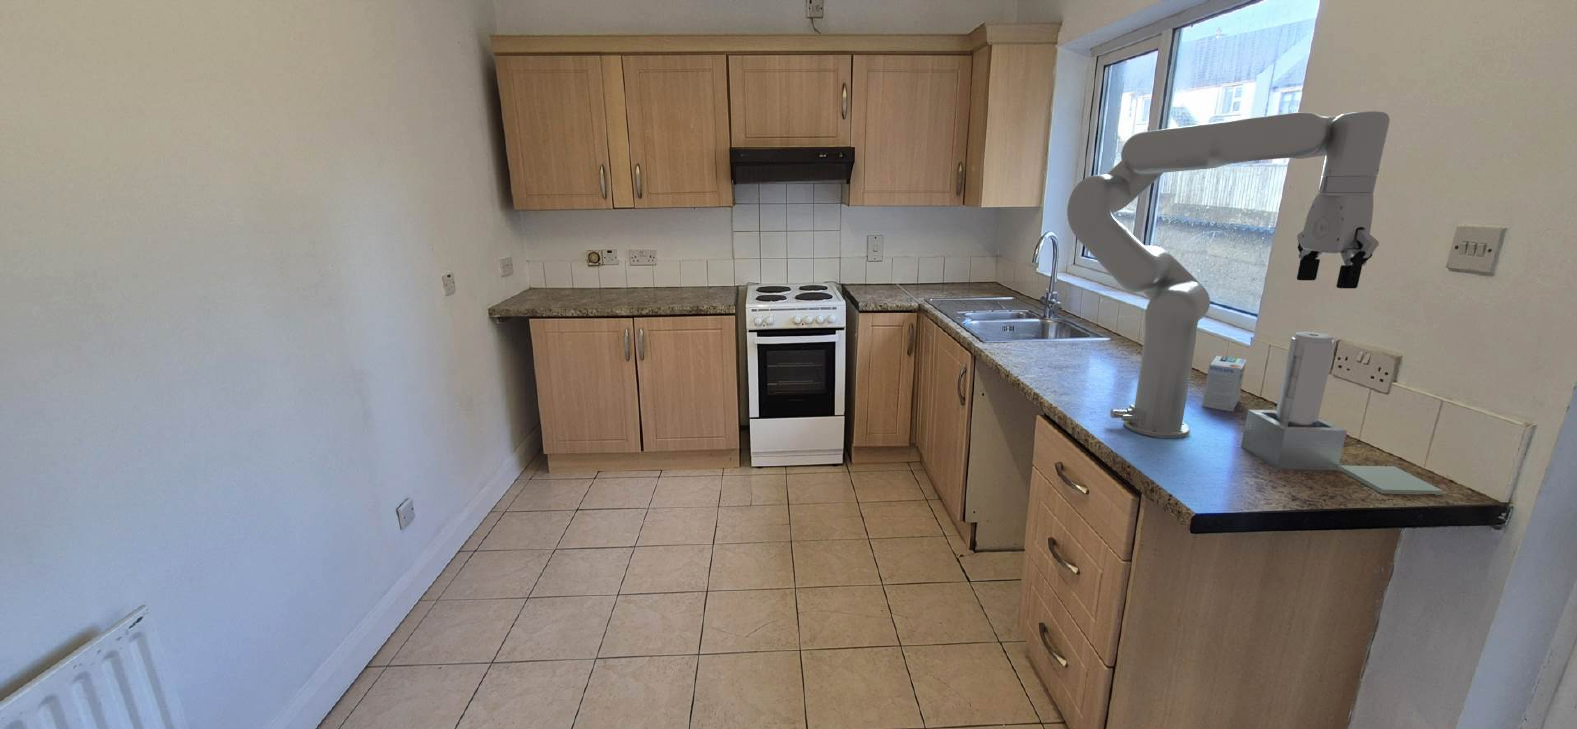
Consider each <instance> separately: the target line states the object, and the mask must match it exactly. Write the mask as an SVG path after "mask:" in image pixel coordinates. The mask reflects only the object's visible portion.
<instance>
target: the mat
mask: <svg viewBox="0 0 1577 729" xmlns="http://www.w3.org/2000/svg"><path fill="white" fill-rule="evenodd" d="M1337 471H1340V472H1342V473H1343V474H1345V475H1347V476H1349V477H1351V478H1353V479H1355V480H1356V481H1358V482H1360V483H1362V484H1363V485H1366V486H1367V487H1369V488H1371V489H1373V490H1374V491H1376V492H1378V493H1379V494H1383V495H1385V494H1386V495H1388V494H1389V495H1421V494H1435V495H1434V496H1442V495H1443V493H1444V490H1442V489H1441V488H1439V487H1437V486H1434V485H1433V484H1431V483H1429V482H1426V481H1425V480H1422V479H1421V478H1418V477H1416V476H1414V475H1412V474H1410V473H1409V472H1406V471H1404V470H1403V469H1400V468H1398V467H1396V466H1394V465H1393V466H1391V465H1390V466H1389V465H1388V466H1387V465H1384V466H1383V465H1342V464H1341V465H1340V464H1339V466H1338V470H1337Z"/></svg>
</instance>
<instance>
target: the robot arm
mask: <svg viewBox="0 0 1577 729" xmlns="http://www.w3.org/2000/svg"><path fill="white" fill-rule="evenodd" d="M1389 125H1390V115H1389V114H1388V113H1386V112H1384V111H1356V112H1348V113H1347V112H1346V113H1342V114H1340V115H1338V116H1325V115H1324V116H1322V115H1319V114H1317V113H1315V112H1309V111H1298V112H1289V113H1282V114H1274V115H1273V114H1272V115H1267V116H1258V117H1251V118H1244V119H1243V118H1242V119H1236V120H1229V121H1216V122H1209V123H1202V124H1195V125H1187V126H1181V127H1180V126H1178V127H1171V128H1169V127H1168V128H1162V129H1155V130H1148V131H1141V132H1139V133H1136V134H1133V135H1132V136H1130V137H1129V138H1128V139H1127V140H1126V141H1125V143H1124V144H1123V146H1122V150H1121V154H1120V155H1121V156H1120V158H1121V160H1120V162H1119V163H1117V164H1116V165H1115V166H1114V167H1112V169H1111V170H1109V171H1108V173H1106V174H1093V175H1090V176H1088V177H1086V178H1084V179H1082V180H1081V181H1079V183H1077V185H1076V186H1075V187H1074V189H1073V190H1072V191H1071V194H1070V196H1069V199H1068V203H1067V209H1066V210H1067V212H1066V214H1067V221H1068V224H1069V227H1070V230H1071V231H1072V233H1073V235H1074V236H1075V237H1076V239H1077V240H1078V241H1079V242H1080V243H1081V244H1082V246H1084V248H1085V249H1086V250H1087V251H1088V252H1089V253H1090V255H1092V256H1093V257H1094V258H1095V259H1096V260H1097V262H1098V263H1099V264H1100V265H1101V266H1102V267H1103V268H1104V269H1105V270H1106V271H1107V273H1109V275H1110V276H1112V278H1113V279H1115V281H1116V282H1117V283H1118V284H1119V285H1120V286H1121V288H1123V289H1125V290H1126V291H1129V292H1131V293H1143V294H1144V295H1146V296H1147V298H1148V299H1149V302H1148V304H1147V306H1146V309H1145V314H1144V315H1145V316H1144V334H1143V345H1142V351H1141V361H1140V365H1139V366H1140V367H1139V373H1138V380H1137V387H1136V393H1135V401H1134V404H1129V408H1128V407H1127V408H1125V409H1121V408H1120V409H1116V408H1115V409H1113V408H1111V409H1110V417H1111V418H1112V419H1121V421H1124V422H1123V424H1124V426H1125V427H1127V429H1129V430H1131V431H1133V432H1135V433H1137V434H1141V435H1144V436H1148V437H1153V438H1160V439H1182V438H1184V437H1188V435H1189V434H1190V428H1191V427H1190V426H1189V425H1188V424H1186V423H1184V422H1183V420H1184V416H1185V415H1184V414H1185V410H1186V409H1185V408H1186V404H1187V399H1188V397H1187V396H1188V392H1189V386H1190V380H1191V375H1192V370H1193V369H1192V368H1193V362H1194V361H1193V360H1194V355H1195V349H1196V342H1197V341H1196V340H1197V329H1198V325H1199V321H1200V320H1202V318H1204V317H1205V316H1206V315H1207V313H1208V312H1209V309H1210V305H1211V298H1210V295H1209V293H1208V292H1209V291H1207V289H1206V288H1205V286H1204V285H1203V284H1201V283H1200V282H1199V280H1198V279H1197V278H1196V277H1195V276H1193V274H1191V272H1189V271H1188V270H1187V269H1186V268H1185V267H1184V266H1183V264H1181V263H1180V262H1179V261H1178V260H1177V259H1176V258H1175V257H1174V256H1173V254H1170V252H1168V251H1167V250H1165V249H1164V248H1162V247H1159V246H1155V245H1145V244H1143V243H1142V242H1141V241H1140V240H1139V239H1138V238H1136V236H1134V234H1133V233H1131V231H1130V230H1129V229H1128V228H1127V227H1126V226H1124V224H1122V223H1121V222H1120V221H1118V220H1117V219H1116V218H1115V217H1114V216H1113V213H1114V214H1115V213H1118V212H1119V211H1121V210H1123V209H1124V208H1126V207H1127V206H1129V204H1130V203H1132V202H1134V200H1135V199H1136V198H1137V197H1138V196H1140V195H1141V194H1142V193H1143V192H1144V191H1145V190H1147V189H1148V188H1149V187H1150V186H1151V185H1152V184H1154V182H1155V181H1157V179H1159V178H1160V177H1161V176H1162V175H1163V174H1164V173H1173V172H1184V171H1185V172H1186V171H1196V170H1198V171H1199V170H1210V169H1217V168H1219V167H1223V166H1227V165H1230V164H1231V165H1232V164H1237V163H1245V162H1247V163H1248V162H1256V161H1264V160H1265V161H1267V160H1279V159H1297V160H1298V159H1299V160H1300V159H1302V160H1303V159H1310V158H1316V157H1322V156H1323V157H1325V158H1324V164H1323V167H1322V173H1321V178H1320V183H1319V187H1318V193H1317V194H1315V196H1314V198H1313V200H1312V202H1311V204H1310V207H1309V209H1308V210H1309V211H1308V213H1307V216H1306V219H1305V223H1304V225H1303V226H1304V227H1303V230H1302V231H1301V232H1299V233H1298V234H1297V236H1296V237H1297V244H1298V245H1297V249H1298V251H1299V254H1298V258H1299V259H1300V260H1299V266H1298V271H1297V276H1296V280H1297V281H1315V280H1316V279H1317V275H1318V271H1319V266H1320V262H1321V258H1318V257H1320V256H1321V254H1322V253H1325V254H1326V253H1327V254H1339V253H1340V255H1341V256H1340V257H1341V259H1342V261H1343V265H1342V264H1341V265H1340V268H1339V273H1338V278H1337V281H1336V288H1338V289H1357V288H1358V286H1359V281H1360V277H1361V273H1362V268H1363V266H1366V265H1367V261H1369V260H1370V259H1371V258H1372V257H1373V253H1374V252H1375V251H1376V249H1377V247H1378V246H1379V243H1380V242H1379V241H1378V240H1377V239H1376V238H1375V237H1374V236H1372V235H1371V234H1370V233H1371V228H1372V223H1373V215H1374V191H1375V187H1376V184H1377V179H1378V174H1379V170H1380V167H1381V166H1380V165H1381V161H1382V157H1383V153H1384V148H1385V144H1386V140H1387V139H1386V138H1387V134H1388V130H1389ZM1352 255H1353V256H1352Z"/></svg>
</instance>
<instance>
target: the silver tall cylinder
mask: <svg viewBox="0 0 1577 729" xmlns="http://www.w3.org/2000/svg"><path fill="white" fill-rule="evenodd" d="M1290 338H1291V339H1290V342H1289V343H1290V344H1289V348H1288V352H1287V357H1286V362H1285V366H1284V371H1283V375H1282V376H1283V377H1282V381H1281V385H1280V390H1279V395H1278V400H1277V403H1276V409H1275V410H1276V413H1275V418H1274V420H1276V421H1278V422H1280V423H1282V424H1284V425H1286V426H1287V427H1316V425H1317V420H1318V417H1319V415H1320V411H1321V407H1322V403H1323V398H1324V394H1325V389H1326V385H1327V381H1328V376H1329V372H1330V368H1331V364H1332V359H1333V355H1334V349H1335V345H1336V341H1335V340H1333V338H1334V337H1333V335H1329V334H1326V333H1322V332H1314V331H1313V332H1312V331H1296V332H1295V333H1294V335H1293V336H1291V337H1290Z"/></svg>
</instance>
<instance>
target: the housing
mask: <svg viewBox="0 0 1577 729" xmlns="http://www.w3.org/2000/svg"><path fill="white" fill-rule="evenodd" d="M1275 413H1276V409H1247V414H1246V419H1245V424H1244V430H1243V435H1242V439H1241V444H1240V447H1241V448H1243V450H1246V451H1247V452H1248V453H1250V454H1252V455H1254V456H1255V457H1257V458H1259V459H1260V460H1262V461H1263V462H1265V463H1266V464H1268V465H1269V466H1271V467H1272V468H1274V469H1275V470H1297V471H1299V470H1302V471H1306V470H1307V471H1339V470H1338V468H1339V465H1340V461H1341V457H1342V452H1343V449H1344V445H1345V440H1346V436H1347V432H1348V430H1346V429H1345V428H1342V427H1340V426H1338V425H1336V424H1334V423H1332V422H1329V421H1327V420H1326V419H1323V418H1321V417H1319V416H1318V420H1317V425H1316V427H1287V426H1286V425H1284V424H1282V423H1280V422H1278V421H1276V420H1274V418H1275Z"/></svg>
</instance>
